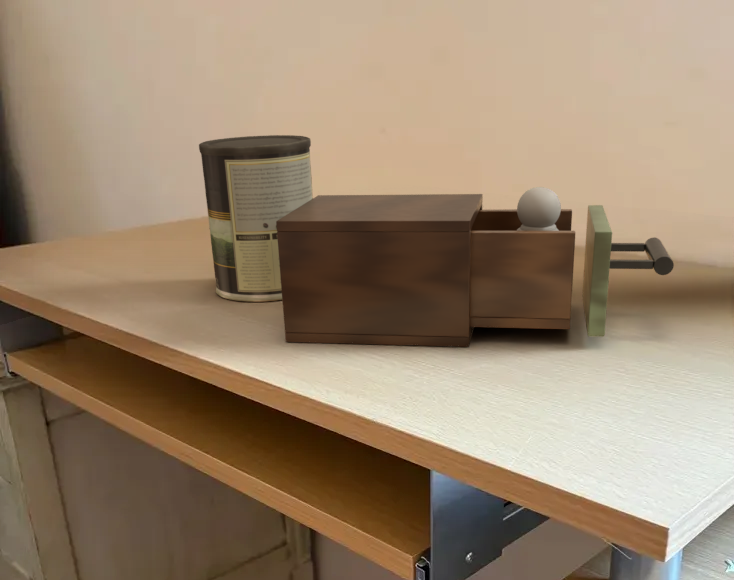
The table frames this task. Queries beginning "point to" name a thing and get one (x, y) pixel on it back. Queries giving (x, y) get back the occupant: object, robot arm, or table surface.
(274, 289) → the coffee can
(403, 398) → the table surface
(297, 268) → the cabinet
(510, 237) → the drawer
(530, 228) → the chess piece
